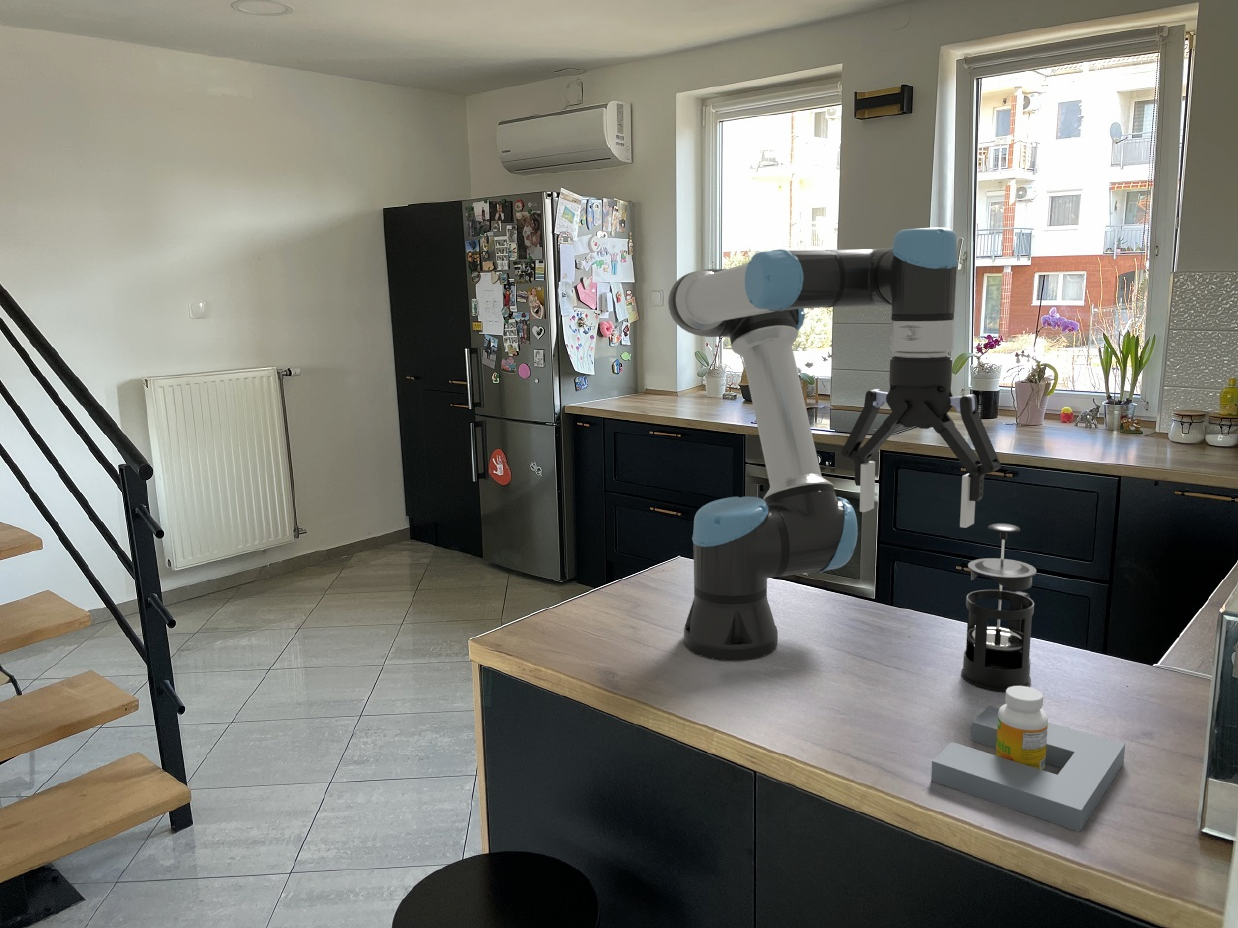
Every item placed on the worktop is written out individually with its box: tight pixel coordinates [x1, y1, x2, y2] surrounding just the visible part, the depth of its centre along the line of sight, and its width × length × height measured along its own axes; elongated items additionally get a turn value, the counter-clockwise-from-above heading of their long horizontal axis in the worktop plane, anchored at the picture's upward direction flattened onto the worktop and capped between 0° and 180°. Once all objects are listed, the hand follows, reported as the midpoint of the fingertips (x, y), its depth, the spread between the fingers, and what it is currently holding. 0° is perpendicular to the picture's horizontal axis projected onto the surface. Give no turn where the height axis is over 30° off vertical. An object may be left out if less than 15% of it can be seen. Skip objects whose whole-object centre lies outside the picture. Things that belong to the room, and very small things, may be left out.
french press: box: [960, 523, 1037, 693], centre depth 130 cm, size 12×9×23 cm
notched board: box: [930, 705, 1126, 832], centre depth 107 cm, size 16×18×2 cm
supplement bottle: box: [995, 686, 1049, 771], centre depth 107 cm, size 5×5×10 cm
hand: (915, 517), depth 119 cm, fingers open, 13 cm apart
